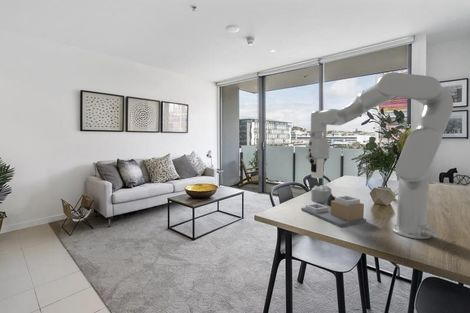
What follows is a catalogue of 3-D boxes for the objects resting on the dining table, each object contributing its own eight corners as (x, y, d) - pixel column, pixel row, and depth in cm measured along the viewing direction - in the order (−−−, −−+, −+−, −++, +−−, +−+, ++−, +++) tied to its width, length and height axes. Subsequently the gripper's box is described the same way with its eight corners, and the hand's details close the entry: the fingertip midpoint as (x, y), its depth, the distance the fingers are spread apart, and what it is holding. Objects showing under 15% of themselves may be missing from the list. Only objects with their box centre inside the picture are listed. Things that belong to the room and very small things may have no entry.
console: (366, 221, 108) (367, 200, 108) (340, 227, 102) (340, 204, 101) (324, 206, 132) (324, 189, 131) (301, 210, 126) (301, 191, 125)
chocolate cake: (349, 212, 124) (346, 192, 132) (336, 208, 124) (334, 189, 131) (339, 219, 131) (337, 200, 139) (327, 216, 131) (325, 197, 139)
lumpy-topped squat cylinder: (309, 200, 145) (309, 186, 144) (317, 196, 155) (318, 183, 154) (326, 203, 138) (326, 189, 137) (334, 199, 148) (334, 185, 147)
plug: (322, 177, 120) (323, 158, 119) (316, 178, 118) (317, 158, 118) (316, 176, 124) (316, 157, 124) (310, 176, 123) (310, 157, 122)
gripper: (310, 135, 113) (309, 173, 114) (336, 135, 119) (335, 171, 121) (300, 135, 119) (299, 171, 121) (325, 135, 126) (324, 169, 128)
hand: (317, 171), depth 121 cm, fingers closed on plug, 4 cm apart
